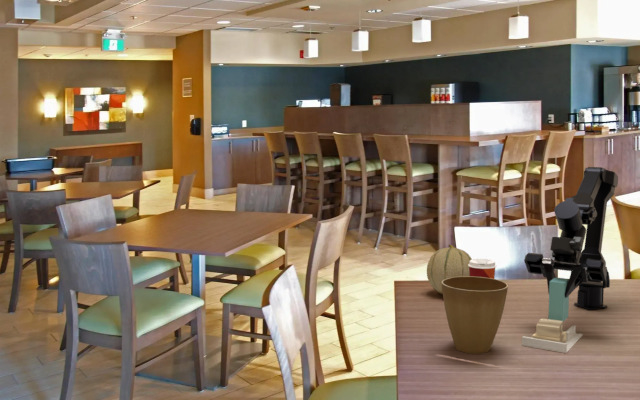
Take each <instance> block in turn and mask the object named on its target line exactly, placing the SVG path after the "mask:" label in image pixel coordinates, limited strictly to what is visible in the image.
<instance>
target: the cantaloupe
mask: <svg viewBox="0 0 640 400" xmlns="http://www.w3.org/2000/svg"><path fill="white" fill-rule="evenodd" d="M472 259H473V258H472V256H471V255H469V253H467V252H466V251H465V250H463V249H460V248H457V247H455V246H453V244H448V247H443V248H439V249H438V250H436V251H435V252H434V253H433V254H432V255H431V256H430V257H429V260H428V262H427V265H426V266H427V267H426V277H427V280H428V283H429V284H430V286H431V287H432V288H433V290H435V291H436V292H438V293H439V294H441V295H443V291H442V281H443V280H444V279H447V278H452V277H463V276H470V274H469V266H468V264H469V262H470V260H472Z"/></svg>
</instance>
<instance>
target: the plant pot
mask: <svg viewBox="0 0 640 400" xmlns="http://www.w3.org/2000/svg"><path fill="white" fill-rule="evenodd" d="M508 288H509V285H508V283H507V282H505V281H503V280H499V279H496V278H494V279H492V278H485V277H474V276H463V277H452V278H447V279H444V280H443V281H442V291H443V294H442V297H443V298H442V299H443V305H444V310H445V314H446V315H445V316H446V319H447V323H448V327H449V331H450V336H451V338H452V341H453V344H454V347H455V349H456V350H458V351H459V352H461V353H462V352H463V353H466V354H472V355H474V354H476V355H477V354H479V355H480V354H484V353H488V352H489V351H490V349H491V348H492V345H493V343H494V340H495V338H496V335H497V332H498V329H499V326H500V325H501V324H500V323H501V320H502V317H503V313H504V308H505V305H506V299H507V294H508Z"/></svg>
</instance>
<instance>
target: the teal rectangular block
mask: <svg viewBox="0 0 640 400" xmlns="http://www.w3.org/2000/svg"><path fill="white" fill-rule="evenodd" d="M568 281H569V278H564V277H556V276H555V278H554V279H552V280H551V281H550V282H549V293H548V319H550V320H559V321H563V322H565V321H566V320H567V319H568V318H569V308H570V305H569V304H570V302H569V301H570V295H569V296H568V297H567V298H565V290H566V287H567V284H568Z"/></svg>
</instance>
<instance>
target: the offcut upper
mask: <svg viewBox="0 0 640 400" xmlns="http://www.w3.org/2000/svg"><path fill="white" fill-rule="evenodd" d="M563 323H564V321H559V320H550V319H547V318H540V319H539V320H538V322H537V323H536V327H535V328H536V331H535V332H536V336H543V337H551V338H559V337H560V335H561V333H562V331H564V330H563V327H564V326H563Z"/></svg>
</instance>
